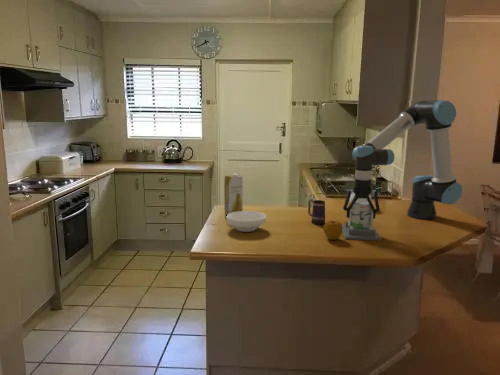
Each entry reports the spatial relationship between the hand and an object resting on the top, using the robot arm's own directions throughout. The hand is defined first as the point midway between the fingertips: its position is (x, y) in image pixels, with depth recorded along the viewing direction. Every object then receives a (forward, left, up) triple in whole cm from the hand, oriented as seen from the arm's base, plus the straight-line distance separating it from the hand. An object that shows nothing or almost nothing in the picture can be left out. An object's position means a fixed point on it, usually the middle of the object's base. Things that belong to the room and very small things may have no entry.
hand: (360, 224), depth 192 cm
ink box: (0, 0, -1) cm, 1 cm away
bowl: (+55, +1, -5) cm, 55 cm away
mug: (+20, -17, -4) cm, 27 cm away
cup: (-8, -51, -4) cm, 52 cm away
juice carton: (+65, -24, -4) cm, 70 cm away
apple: (+14, +11, -4) cm, 18 cm away
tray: (0, 0, -4) cm, 4 cm away
